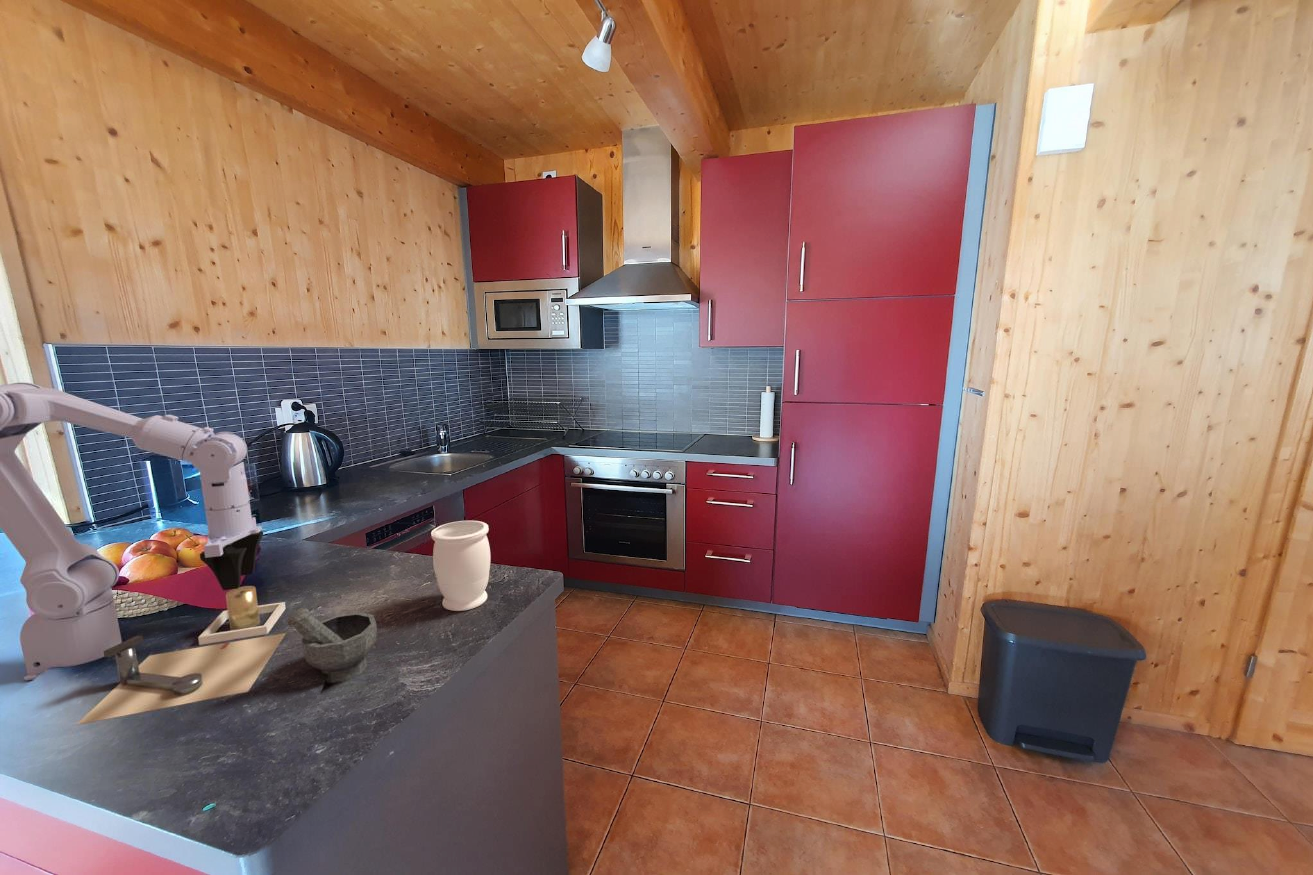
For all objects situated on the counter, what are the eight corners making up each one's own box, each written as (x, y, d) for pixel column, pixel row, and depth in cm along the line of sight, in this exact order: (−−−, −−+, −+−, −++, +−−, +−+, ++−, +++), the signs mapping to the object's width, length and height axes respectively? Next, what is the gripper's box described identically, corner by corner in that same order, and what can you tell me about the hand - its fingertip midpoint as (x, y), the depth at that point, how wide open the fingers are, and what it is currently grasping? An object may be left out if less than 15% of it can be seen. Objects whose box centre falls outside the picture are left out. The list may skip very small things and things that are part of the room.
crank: (212, 679, 72) (206, 642, 71) (181, 698, 68) (175, 659, 67) (141, 671, 74) (134, 635, 73) (107, 688, 70) (100, 650, 69)
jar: (494, 608, 95) (490, 533, 93) (435, 619, 91) (429, 541, 89) (491, 585, 105) (487, 517, 102) (437, 594, 101) (432, 523, 99)
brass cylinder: (227, 636, 85) (221, 598, 83) (236, 625, 88) (230, 588, 87) (256, 631, 86) (250, 594, 85) (263, 620, 90) (258, 584, 89)
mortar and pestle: (363, 644, 83) (356, 577, 81) (392, 664, 78) (385, 592, 76) (284, 680, 74) (273, 605, 72) (310, 705, 69) (299, 625, 67)
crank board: (77, 733, 64) (75, 724, 63) (150, 662, 78) (149, 654, 78) (248, 699, 70) (247, 690, 70) (286, 639, 85) (285, 632, 85)
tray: (200, 651, 81) (198, 637, 81) (225, 623, 90) (223, 610, 89) (268, 640, 85) (266, 626, 84) (286, 614, 93) (284, 601, 93)
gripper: (238, 515, 78) (250, 595, 80) (272, 492, 92) (281, 561, 94) (182, 520, 76) (195, 603, 78) (224, 496, 89) (235, 567, 91)
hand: (238, 581), depth 86 cm, fingers open, 5 cm apart
